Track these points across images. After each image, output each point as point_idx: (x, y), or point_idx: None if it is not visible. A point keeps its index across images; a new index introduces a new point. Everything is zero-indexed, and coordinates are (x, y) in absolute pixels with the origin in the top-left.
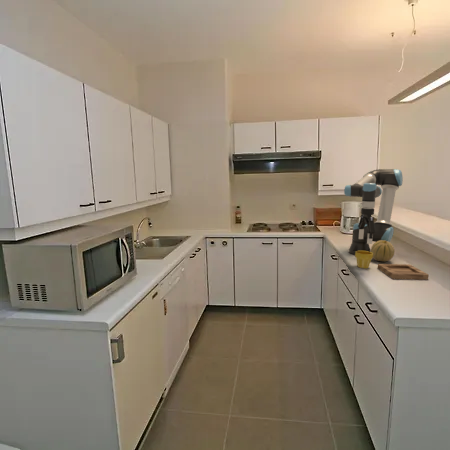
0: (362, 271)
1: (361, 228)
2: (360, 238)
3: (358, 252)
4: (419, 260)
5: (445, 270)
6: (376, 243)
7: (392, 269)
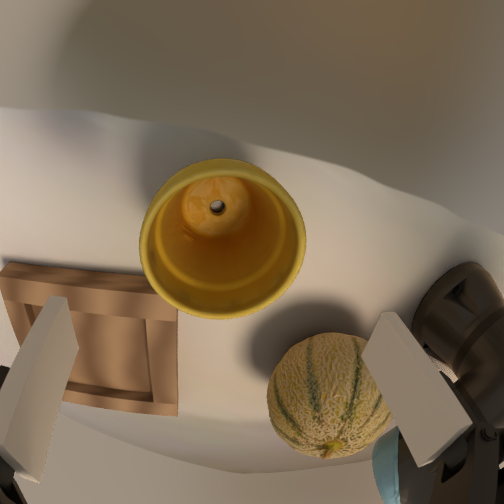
0: (115, 151)
1: (456, 453)
2: (378, 334)
3: (291, 222)
4: (288, 448)
5: (171, 457)
6: (358, 409)
7: (119, 330)
